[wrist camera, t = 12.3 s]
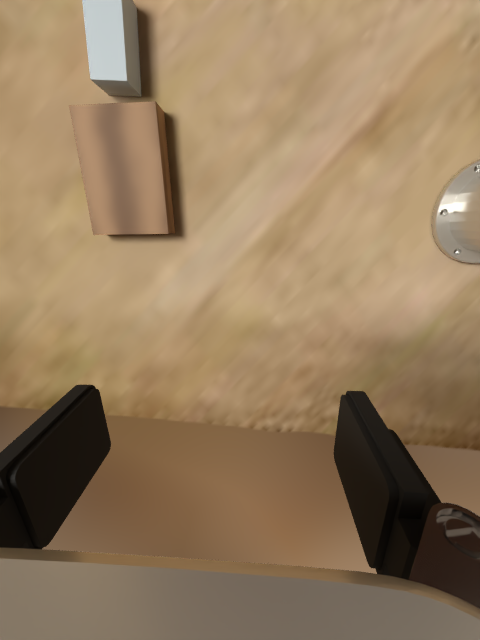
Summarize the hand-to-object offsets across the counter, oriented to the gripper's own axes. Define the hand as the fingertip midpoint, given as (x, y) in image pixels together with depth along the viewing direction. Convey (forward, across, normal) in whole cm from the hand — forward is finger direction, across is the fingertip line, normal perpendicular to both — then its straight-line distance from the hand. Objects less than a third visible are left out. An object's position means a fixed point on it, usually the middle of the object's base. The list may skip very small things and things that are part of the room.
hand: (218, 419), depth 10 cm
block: (+28, +15, -22) cm, 39 cm away
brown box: (+30, +15, -13) cm, 36 cm away
